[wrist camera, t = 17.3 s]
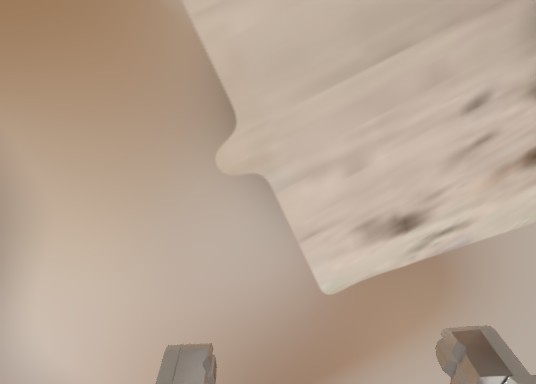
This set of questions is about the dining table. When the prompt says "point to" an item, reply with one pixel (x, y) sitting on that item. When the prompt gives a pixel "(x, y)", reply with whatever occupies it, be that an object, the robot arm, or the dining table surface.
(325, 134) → the dining table surface
